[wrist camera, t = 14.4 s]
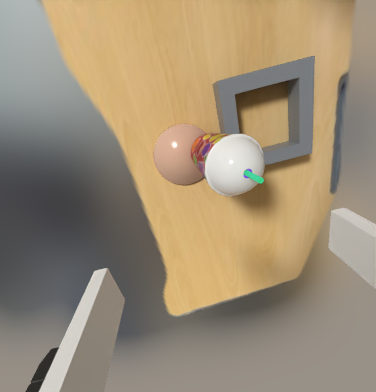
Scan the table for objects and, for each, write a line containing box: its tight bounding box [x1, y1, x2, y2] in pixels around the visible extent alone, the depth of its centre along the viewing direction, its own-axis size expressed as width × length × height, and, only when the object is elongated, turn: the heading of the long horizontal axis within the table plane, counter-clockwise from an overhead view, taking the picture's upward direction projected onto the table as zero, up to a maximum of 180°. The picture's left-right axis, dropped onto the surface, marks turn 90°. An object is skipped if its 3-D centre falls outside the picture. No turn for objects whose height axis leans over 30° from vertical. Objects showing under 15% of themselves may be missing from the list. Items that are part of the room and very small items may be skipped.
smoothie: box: [191, 133, 265, 196], centre depth 29 cm, size 8×8×20 cm
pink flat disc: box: [153, 124, 206, 185], centre depth 39 cm, size 12×12×1 cm
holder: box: [213, 56, 315, 165], centre depth 36 cm, size 16×16×4 cm
